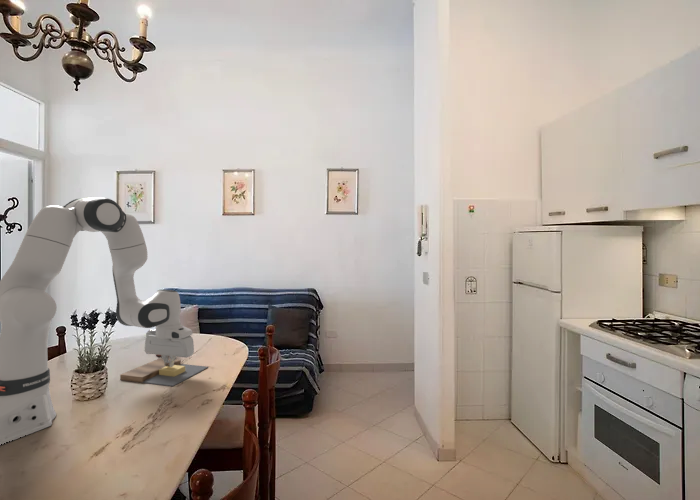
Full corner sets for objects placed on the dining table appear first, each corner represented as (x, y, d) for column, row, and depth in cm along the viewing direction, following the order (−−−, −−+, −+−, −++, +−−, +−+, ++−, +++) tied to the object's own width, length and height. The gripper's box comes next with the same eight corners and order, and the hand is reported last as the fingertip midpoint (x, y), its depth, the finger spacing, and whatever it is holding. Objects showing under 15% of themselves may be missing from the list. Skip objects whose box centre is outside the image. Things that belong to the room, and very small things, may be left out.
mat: (172, 386, 134) (172, 385, 134) (142, 382, 137) (142, 381, 137) (208, 367, 153) (208, 366, 153) (181, 364, 156) (181, 363, 156)
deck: (142, 382, 137) (142, 377, 137) (120, 379, 140) (120, 374, 140) (180, 364, 156) (180, 359, 156) (160, 362, 159) (160, 357, 159)
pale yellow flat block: (174, 376, 142) (174, 371, 142) (158, 374, 144) (158, 369, 144) (185, 371, 148) (185, 366, 148) (170, 369, 150) (170, 364, 150)
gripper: (140, 331, 145) (140, 366, 146) (184, 334, 140) (185, 371, 140) (152, 327, 151) (153, 361, 152) (196, 330, 146) (196, 366, 146)
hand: (169, 366), depth 146 cm, fingers closed
